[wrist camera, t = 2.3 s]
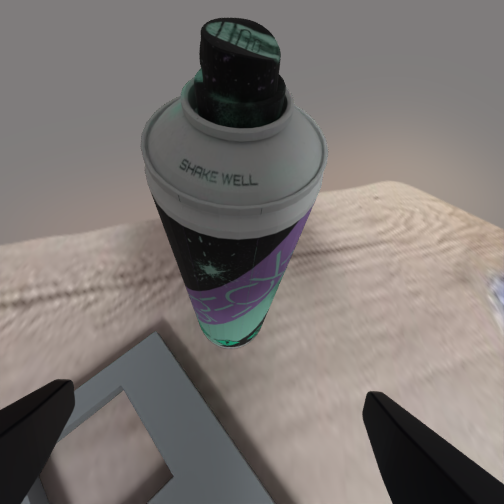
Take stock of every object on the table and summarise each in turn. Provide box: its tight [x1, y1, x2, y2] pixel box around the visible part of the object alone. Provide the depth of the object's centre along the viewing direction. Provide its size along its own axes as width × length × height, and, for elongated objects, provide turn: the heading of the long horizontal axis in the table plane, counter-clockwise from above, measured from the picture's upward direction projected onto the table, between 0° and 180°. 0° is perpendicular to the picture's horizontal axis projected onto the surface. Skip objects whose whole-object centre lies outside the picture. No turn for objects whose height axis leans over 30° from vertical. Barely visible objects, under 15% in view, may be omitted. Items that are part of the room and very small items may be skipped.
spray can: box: [141, 18, 328, 349], centre depth 14 cm, size 6×6×20 cm
